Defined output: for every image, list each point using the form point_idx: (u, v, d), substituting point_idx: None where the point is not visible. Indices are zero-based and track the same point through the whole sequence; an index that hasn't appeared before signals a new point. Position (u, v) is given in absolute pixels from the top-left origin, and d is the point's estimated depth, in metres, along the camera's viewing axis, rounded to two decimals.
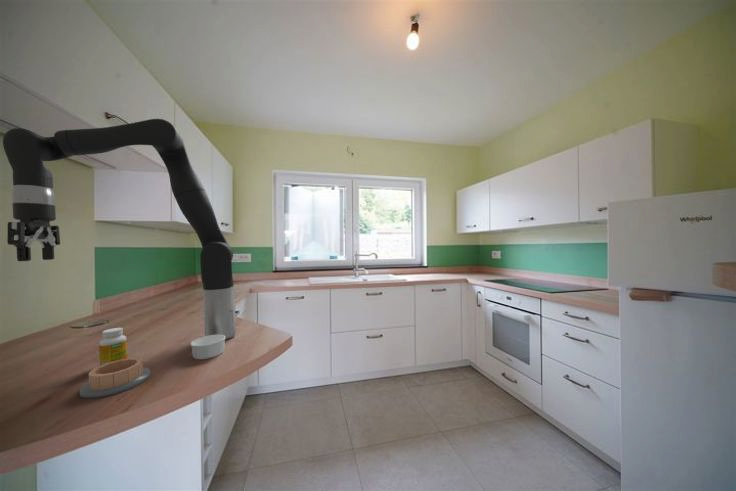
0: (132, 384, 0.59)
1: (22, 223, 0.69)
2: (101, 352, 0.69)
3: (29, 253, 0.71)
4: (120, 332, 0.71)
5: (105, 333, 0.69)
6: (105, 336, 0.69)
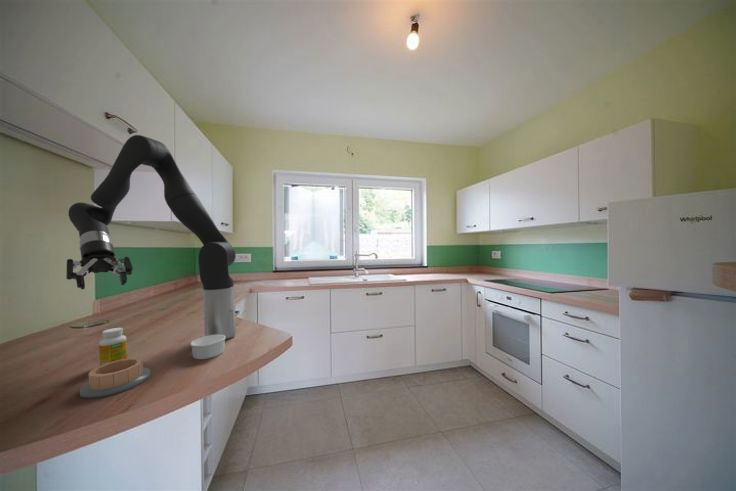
0: (132, 384, 0.59)
1: (69, 260, 0.77)
2: (101, 352, 0.69)
3: (82, 279, 0.75)
4: (120, 332, 0.71)
5: (105, 333, 0.69)
6: (105, 336, 0.69)
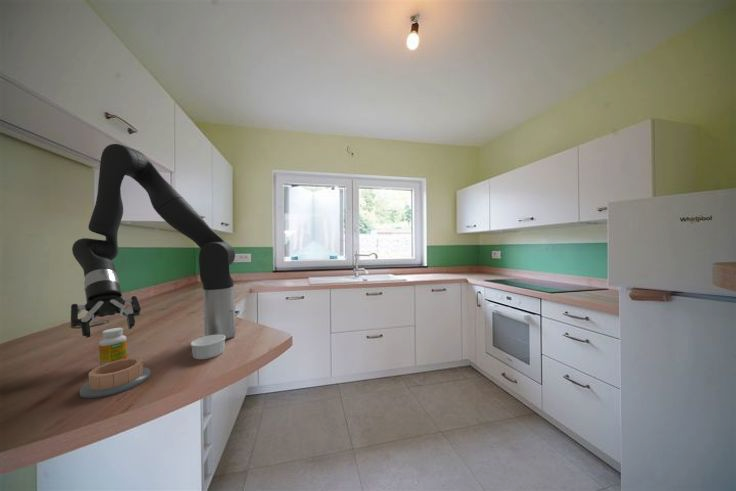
0: (132, 384, 0.59)
1: (73, 305, 0.72)
2: (101, 352, 0.69)
3: (87, 327, 0.70)
4: (120, 332, 0.71)
5: (105, 333, 0.69)
6: (105, 336, 0.69)
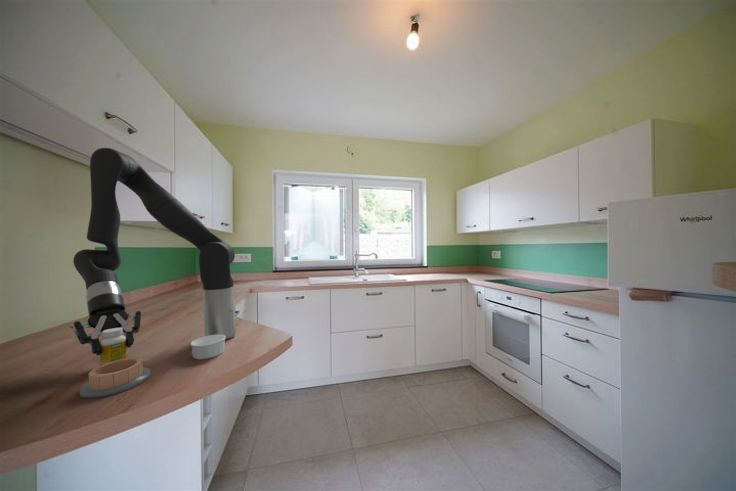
0: (132, 384, 0.59)
1: (76, 323, 0.69)
2: (101, 352, 0.69)
3: (97, 344, 0.68)
4: (120, 332, 0.71)
5: (105, 333, 0.69)
6: (105, 336, 0.69)
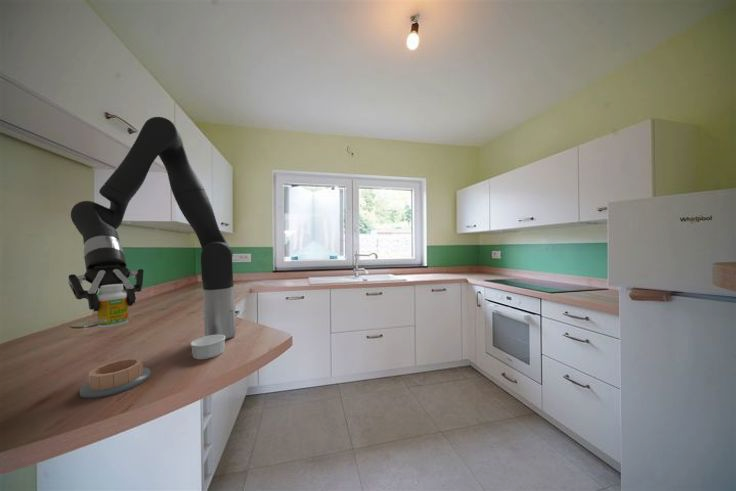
0: (132, 384, 0.59)
1: (71, 275, 0.61)
2: (99, 308, 0.61)
3: (95, 299, 0.61)
4: (121, 287, 0.64)
5: (103, 287, 0.62)
6: (103, 291, 0.62)
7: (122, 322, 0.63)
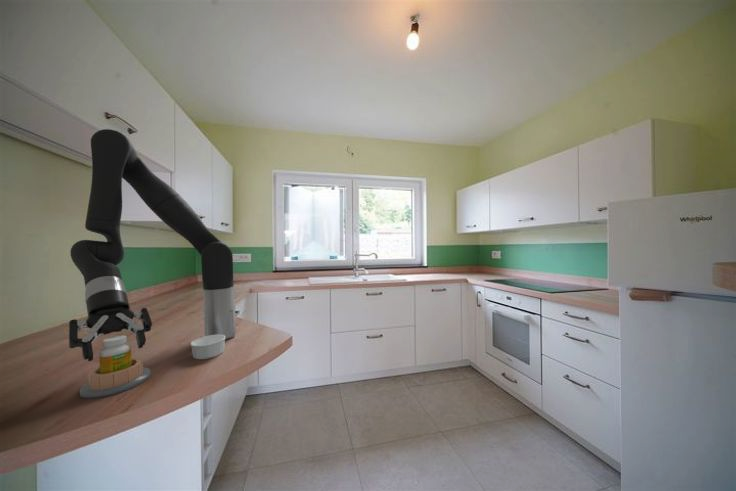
0: (132, 384, 0.59)
1: (72, 321, 0.59)
2: (102, 364, 0.59)
3: (89, 348, 0.58)
4: (124, 340, 0.62)
5: (106, 342, 0.59)
6: (106, 346, 0.59)
7: None
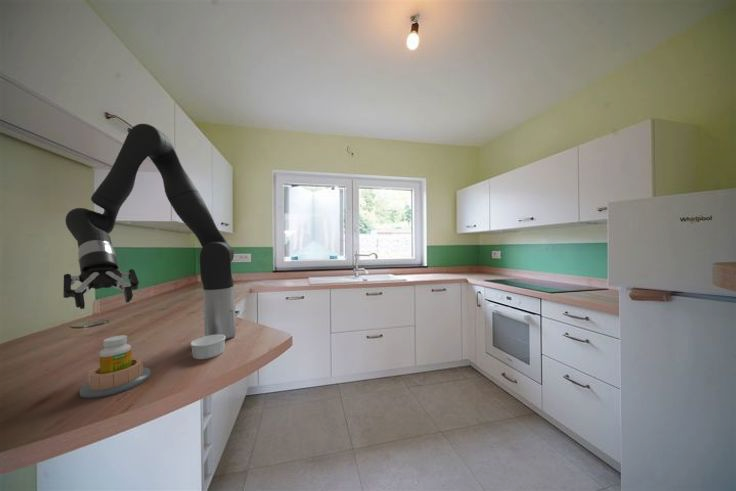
0: (132, 384, 0.59)
1: (66, 275, 0.67)
2: (102, 364, 0.59)
3: (81, 298, 0.65)
4: (124, 340, 0.62)
5: (106, 342, 0.59)
6: (106, 345, 0.59)
7: None
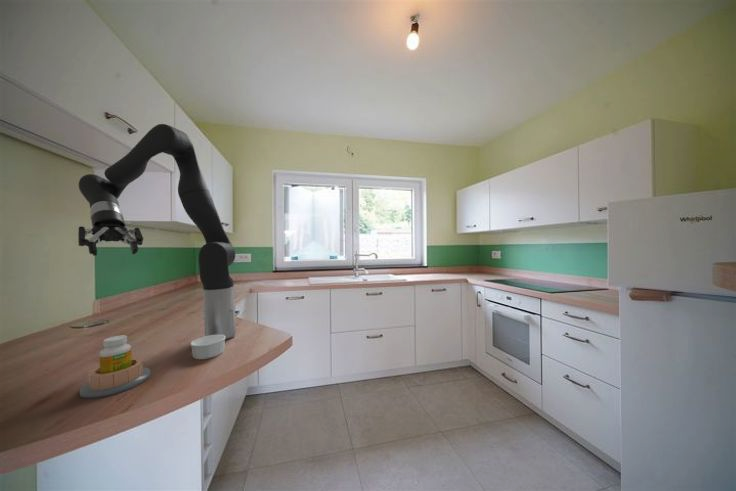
0: (132, 384, 0.59)
1: (80, 227, 0.77)
2: (102, 364, 0.59)
3: (94, 246, 0.75)
4: (124, 340, 0.62)
5: (106, 342, 0.59)
6: (106, 345, 0.59)
7: None
